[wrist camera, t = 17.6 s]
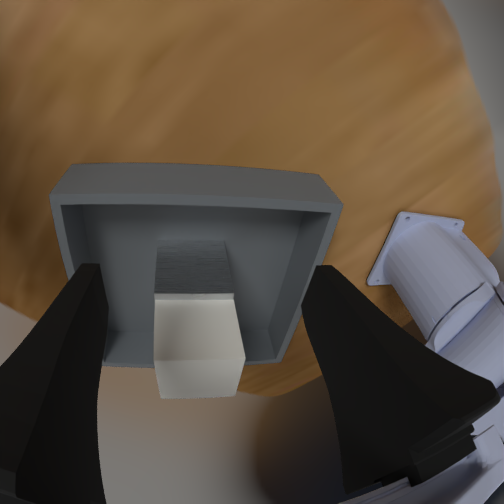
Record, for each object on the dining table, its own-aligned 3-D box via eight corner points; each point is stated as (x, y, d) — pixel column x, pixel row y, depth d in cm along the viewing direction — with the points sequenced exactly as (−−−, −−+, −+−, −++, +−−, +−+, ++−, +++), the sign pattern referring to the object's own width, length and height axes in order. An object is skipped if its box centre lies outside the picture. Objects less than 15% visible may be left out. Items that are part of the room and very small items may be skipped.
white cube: (233, 299, 18) (245, 357, 15) (226, 344, 20) (235, 395, 17) (155, 300, 17) (153, 360, 14) (159, 345, 19) (161, 398, 16)
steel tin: (224, 240, 21) (234, 293, 17) (217, 287, 24) (226, 339, 20) (158, 239, 20) (154, 293, 16) (159, 287, 23) (158, 340, 19)
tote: (318, 174, 20) (343, 204, 17) (271, 328, 30) (280, 362, 26) (71, 164, 16) (48, 194, 13) (104, 329, 26) (99, 365, 23)
